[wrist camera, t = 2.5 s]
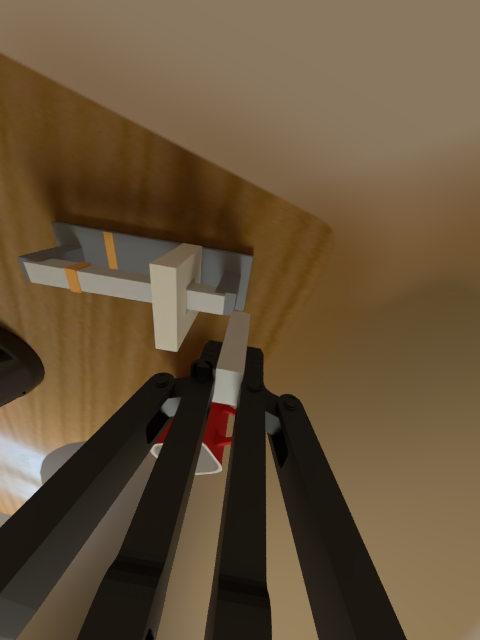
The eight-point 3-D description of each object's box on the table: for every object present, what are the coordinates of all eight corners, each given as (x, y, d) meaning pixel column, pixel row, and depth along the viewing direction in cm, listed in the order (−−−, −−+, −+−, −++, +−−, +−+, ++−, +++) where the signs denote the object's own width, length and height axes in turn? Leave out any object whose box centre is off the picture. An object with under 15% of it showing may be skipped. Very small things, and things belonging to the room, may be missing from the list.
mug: (194, 413, 40) (175, 476, 31) (173, 383, 36) (144, 445, 27) (254, 402, 37) (252, 469, 28) (237, 369, 33) (229, 433, 24)
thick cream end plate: (183, 308, 26) (155, 348, 19) (183, 243, 22) (149, 263, 15) (198, 311, 26) (177, 352, 19) (202, 246, 22) (176, 268, 15)
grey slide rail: (72, 278, 28) (19, 302, 22) (56, 221, 24) (-13, 229, 18) (243, 308, 28) (238, 339, 22) (253, 255, 24) (250, 275, 18)
